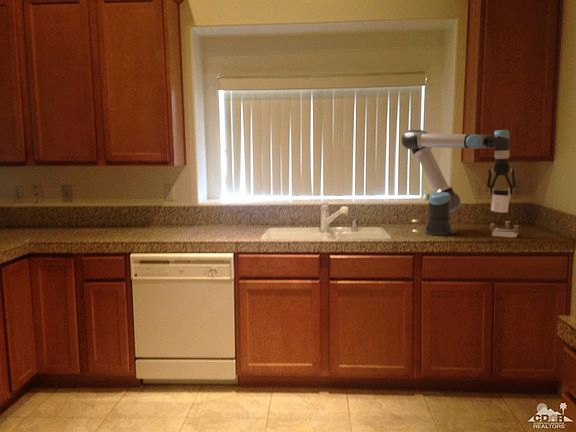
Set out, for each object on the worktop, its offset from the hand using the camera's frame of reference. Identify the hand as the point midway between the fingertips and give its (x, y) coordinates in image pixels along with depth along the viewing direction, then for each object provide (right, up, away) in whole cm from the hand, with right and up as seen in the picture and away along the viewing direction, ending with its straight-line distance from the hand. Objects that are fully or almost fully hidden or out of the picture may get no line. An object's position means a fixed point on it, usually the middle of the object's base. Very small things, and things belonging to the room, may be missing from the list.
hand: (501, 199), depth 280 cm
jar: (-1, -7, +1) cm, 7 cm away
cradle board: (+4, -20, +5) cm, 21 cm away
